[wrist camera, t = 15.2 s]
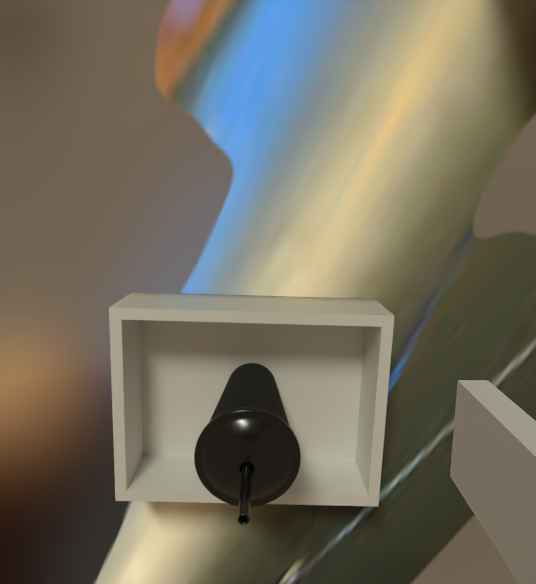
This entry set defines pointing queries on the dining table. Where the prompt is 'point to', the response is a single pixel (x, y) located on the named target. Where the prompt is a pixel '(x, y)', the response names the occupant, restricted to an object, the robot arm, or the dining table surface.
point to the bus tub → (216, 372)
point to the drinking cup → (248, 443)
